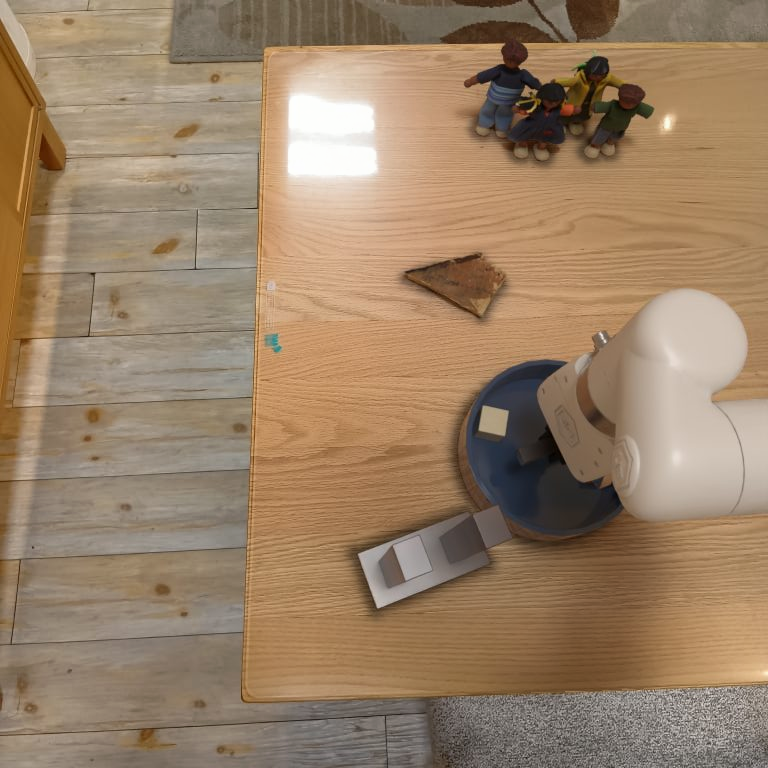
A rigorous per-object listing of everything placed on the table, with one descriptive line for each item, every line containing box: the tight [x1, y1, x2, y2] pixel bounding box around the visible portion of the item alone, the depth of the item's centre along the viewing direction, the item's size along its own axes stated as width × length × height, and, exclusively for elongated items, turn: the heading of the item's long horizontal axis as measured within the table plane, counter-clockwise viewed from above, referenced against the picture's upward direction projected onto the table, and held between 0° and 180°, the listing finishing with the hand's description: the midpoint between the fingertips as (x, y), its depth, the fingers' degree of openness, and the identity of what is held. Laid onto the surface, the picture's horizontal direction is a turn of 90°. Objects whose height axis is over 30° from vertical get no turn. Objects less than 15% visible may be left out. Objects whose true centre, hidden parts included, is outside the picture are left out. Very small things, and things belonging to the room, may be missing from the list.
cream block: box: [474, 405, 509, 442], centre depth 77 cm, size 3×3×3 cm
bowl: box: [457, 358, 625, 542], centre depth 76 cm, size 19×19×6 cm
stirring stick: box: [515, 436, 559, 466], centre depth 70 cm, size 2×10×2 cm, turn 111°
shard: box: [404, 252, 508, 318], centre depth 84 cm, size 11×8×2 cm
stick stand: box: [356, 504, 514, 610], centre depth 64 cm, size 6×13×20 cm, turn 111°
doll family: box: [463, 39, 655, 162], centre depth 86 cm, size 23×9×13 cm, turn 99°
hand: (556, 446), depth 73 cm, fingers closed on stirring stick, 1 cm apart
